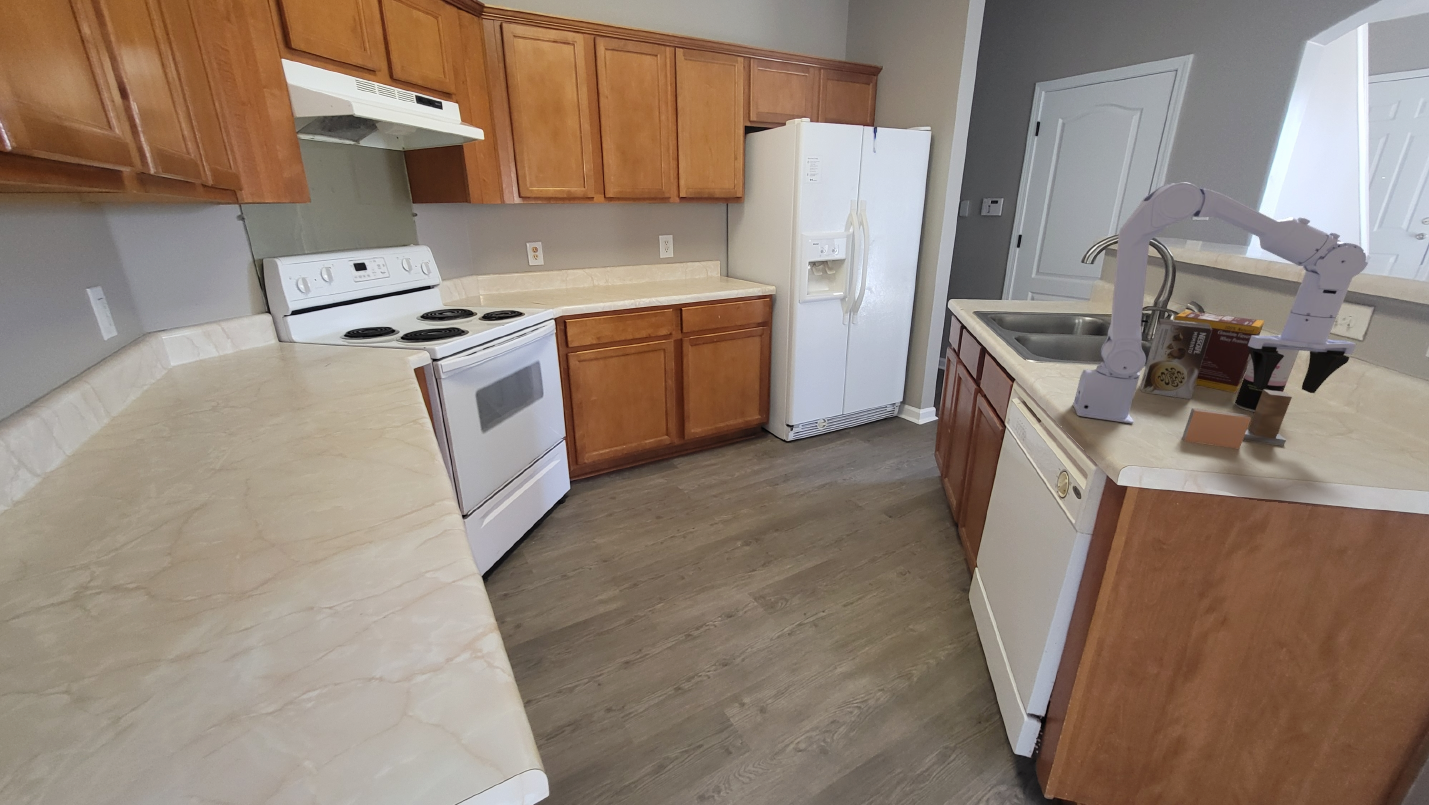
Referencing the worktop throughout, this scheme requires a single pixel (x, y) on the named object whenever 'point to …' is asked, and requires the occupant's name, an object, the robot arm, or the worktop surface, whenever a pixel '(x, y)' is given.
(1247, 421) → the tile
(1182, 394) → the coffee box
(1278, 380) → the beverage can
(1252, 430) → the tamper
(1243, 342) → the supplement box
